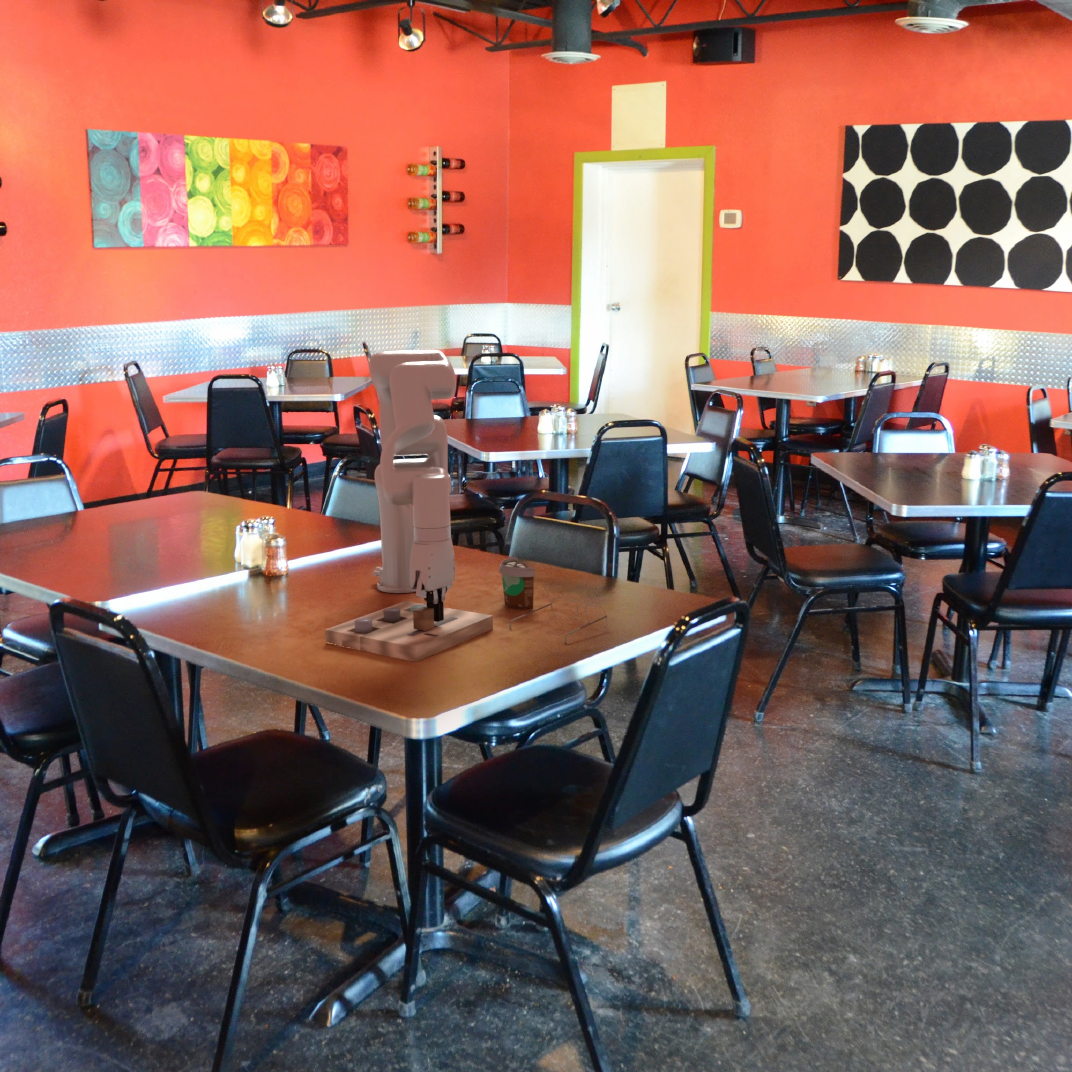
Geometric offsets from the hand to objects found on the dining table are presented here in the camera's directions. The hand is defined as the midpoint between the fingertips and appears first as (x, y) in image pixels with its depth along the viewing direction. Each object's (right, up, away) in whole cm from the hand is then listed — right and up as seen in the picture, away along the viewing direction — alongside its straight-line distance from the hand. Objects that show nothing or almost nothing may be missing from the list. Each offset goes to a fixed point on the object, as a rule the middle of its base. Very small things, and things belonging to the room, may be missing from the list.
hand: (435, 620), depth 242 cm
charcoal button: (-10, -1, +6) cm, 11 cm away
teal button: (-5, -1, +13) cm, 14 cm away
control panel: (-5, -4, +3) cm, 7 cm away
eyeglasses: (+26, -3, +8) cm, 27 cm away
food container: (+16, +1, +26) cm, 30 cm away
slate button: (-15, -3, -2) cm, 15 cm away
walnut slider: (-2, -2, -3) cm, 4 cm away
